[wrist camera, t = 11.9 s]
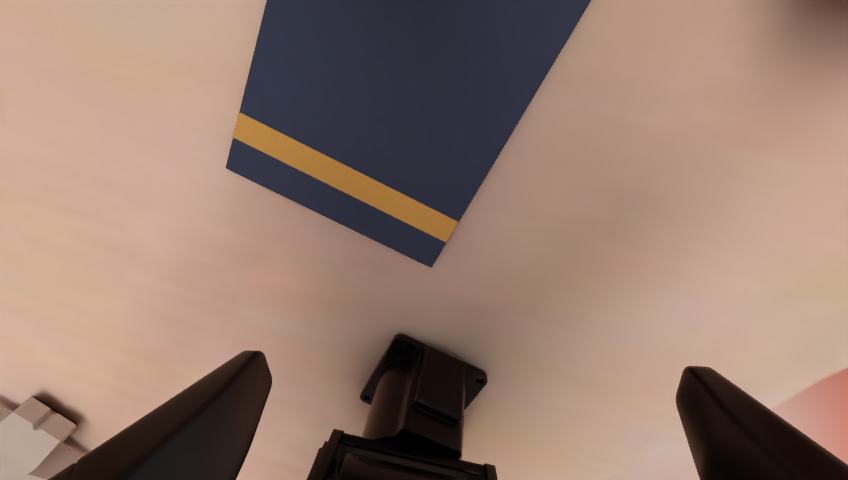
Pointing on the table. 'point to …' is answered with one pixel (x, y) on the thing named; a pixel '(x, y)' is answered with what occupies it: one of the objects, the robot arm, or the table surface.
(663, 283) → the table surface
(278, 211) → the table surface
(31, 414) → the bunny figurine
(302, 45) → the towel
